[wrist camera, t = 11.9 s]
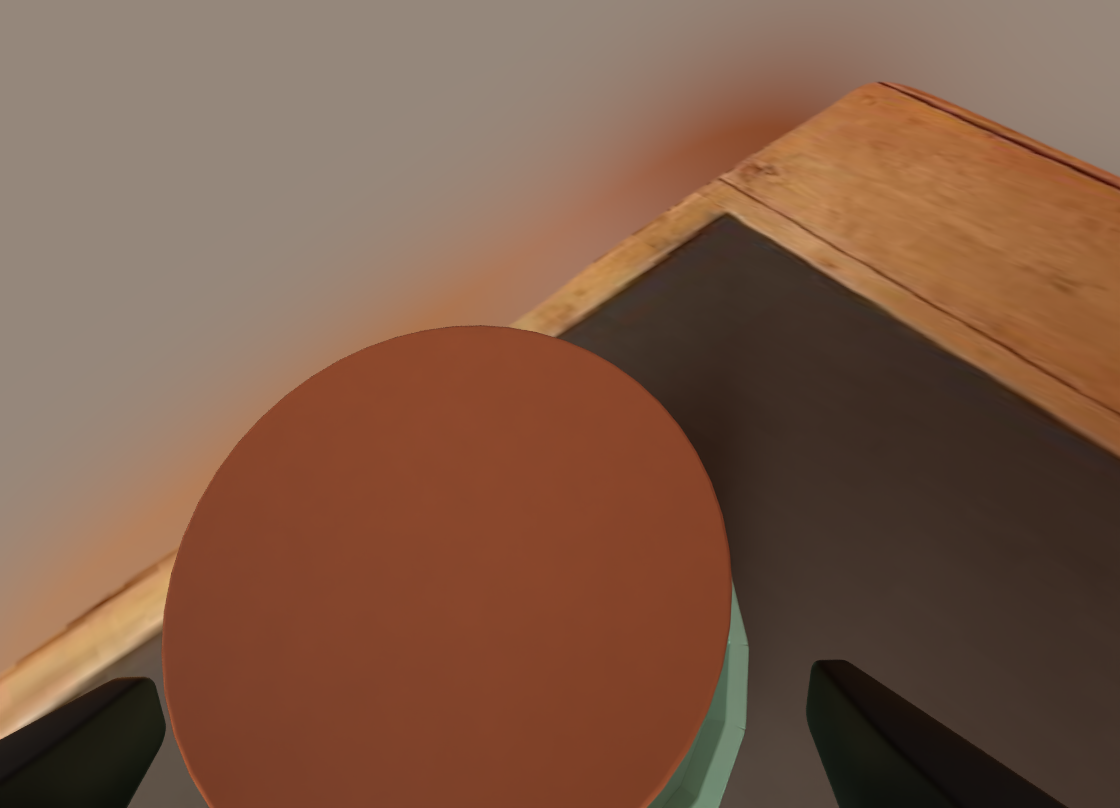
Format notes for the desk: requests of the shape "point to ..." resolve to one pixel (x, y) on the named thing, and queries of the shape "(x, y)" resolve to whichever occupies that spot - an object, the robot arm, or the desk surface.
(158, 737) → the robot arm
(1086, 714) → the desk surface
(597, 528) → the snack canister
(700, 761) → the bowl
